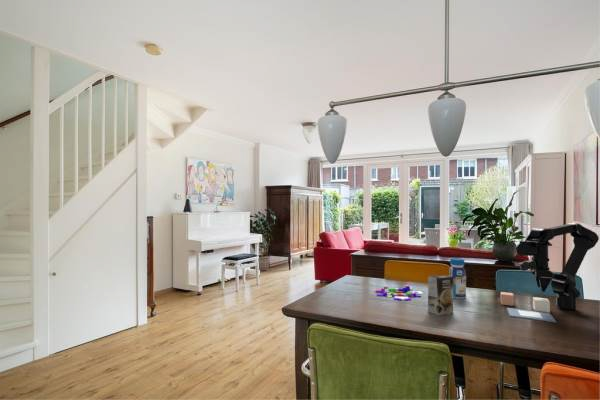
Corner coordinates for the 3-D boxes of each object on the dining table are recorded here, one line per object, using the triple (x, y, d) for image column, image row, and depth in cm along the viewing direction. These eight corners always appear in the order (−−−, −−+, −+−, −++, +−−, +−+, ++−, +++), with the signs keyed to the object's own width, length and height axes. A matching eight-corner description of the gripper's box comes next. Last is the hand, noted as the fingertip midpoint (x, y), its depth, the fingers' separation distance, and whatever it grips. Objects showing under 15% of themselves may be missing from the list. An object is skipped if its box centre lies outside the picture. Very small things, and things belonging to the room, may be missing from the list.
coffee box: (438, 315, 141) (438, 278, 142) (427, 311, 147) (427, 275, 147) (454, 313, 145) (453, 276, 145) (442, 309, 151) (442, 273, 151)
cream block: (547, 309, 152) (547, 298, 152) (549, 312, 147) (549, 301, 147) (532, 307, 154) (532, 297, 154) (534, 310, 149) (534, 299, 149)
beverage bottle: (450, 293, 178) (450, 257, 178) (467, 296, 173) (467, 258, 173) (447, 297, 171) (446, 259, 171) (464, 300, 166) (464, 260, 166)
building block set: (380, 300, 165) (380, 292, 165) (373, 290, 186) (374, 282, 186) (430, 302, 163) (430, 293, 163) (418, 291, 184) (418, 283, 184)
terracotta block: (512, 303, 161) (512, 293, 161) (513, 306, 156) (513, 295, 157) (500, 301, 163) (500, 291, 163) (501, 304, 159) (501, 294, 159)
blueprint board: (549, 314, 144) (549, 312, 144) (556, 322, 133) (556, 321, 133) (506, 308, 151) (506, 307, 151) (509, 316, 141) (509, 315, 141)
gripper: (517, 252, 163) (517, 283, 163) (522, 257, 146) (523, 292, 146) (544, 253, 158) (545, 285, 157) (553, 258, 141) (554, 295, 141)
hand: (541, 289), depth 151 cm, fingers open, 9 cm apart
